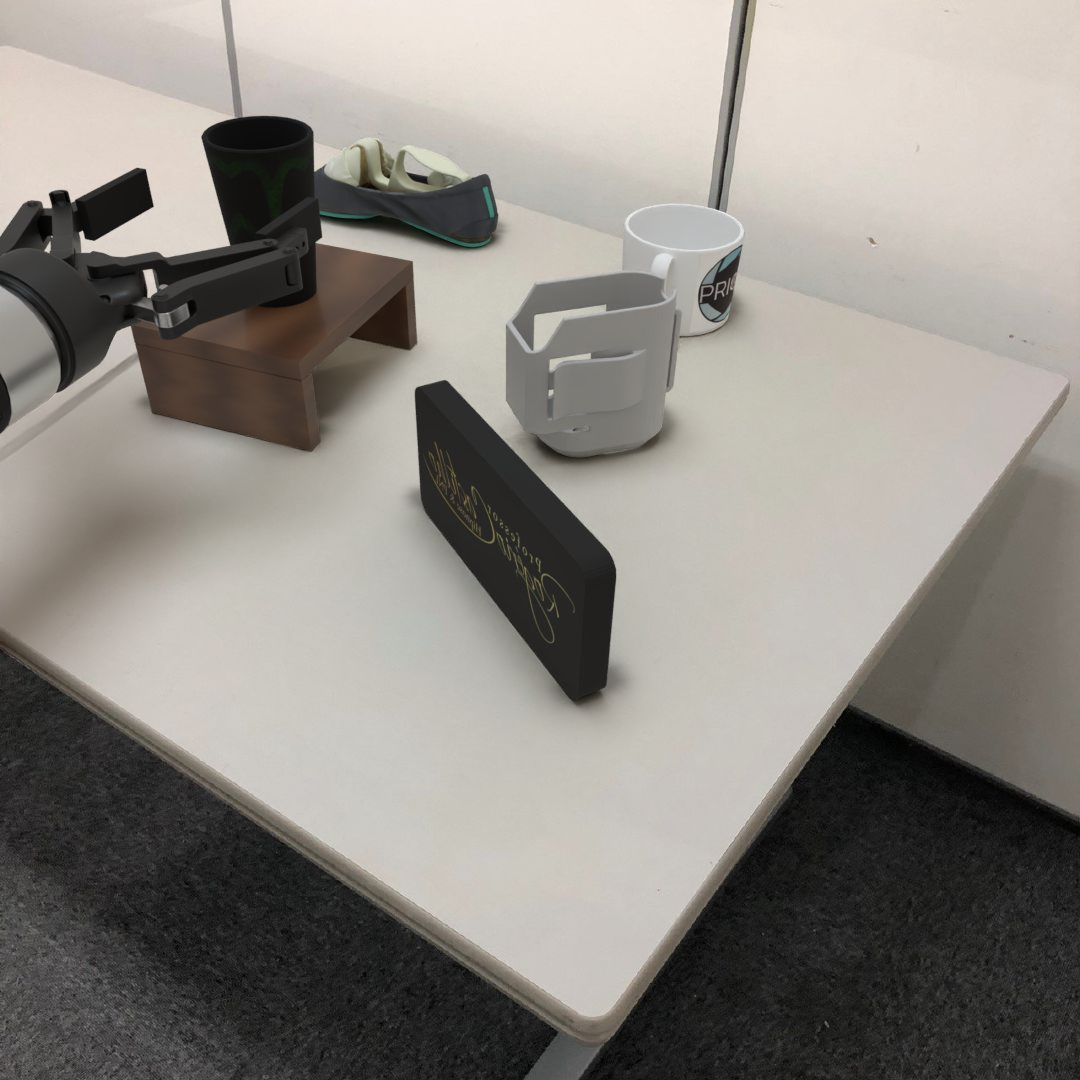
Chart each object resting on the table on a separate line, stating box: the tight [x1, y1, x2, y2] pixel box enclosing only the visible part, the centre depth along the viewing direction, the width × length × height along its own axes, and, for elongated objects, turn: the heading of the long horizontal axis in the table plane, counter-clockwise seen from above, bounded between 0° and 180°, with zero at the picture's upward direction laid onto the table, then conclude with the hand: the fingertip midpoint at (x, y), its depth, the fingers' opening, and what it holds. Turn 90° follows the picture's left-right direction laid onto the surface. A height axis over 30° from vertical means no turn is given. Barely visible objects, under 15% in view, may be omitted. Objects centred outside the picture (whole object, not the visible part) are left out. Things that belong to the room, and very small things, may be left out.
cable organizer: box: [505, 270, 682, 459], centre depth 76 cm, size 7×12×12 cm, turn 110°
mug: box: [621, 203, 746, 337], centre depth 93 cm, size 13×10×8 cm
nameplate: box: [414, 379, 617, 701], centre depth 63 cm, size 21×2×10 cm, turn 29°
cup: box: [200, 115, 317, 308], centre depth 78 cm, size 8×8×12 cm
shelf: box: [130, 242, 418, 452], centre depth 84 cm, size 14×18×8 cm
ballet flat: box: [314, 136, 499, 248], centre depth 109 cm, size 8×24×8 cm, turn 63°
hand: (228, 201), depth 73 cm, fingers open, 13 cm apart
